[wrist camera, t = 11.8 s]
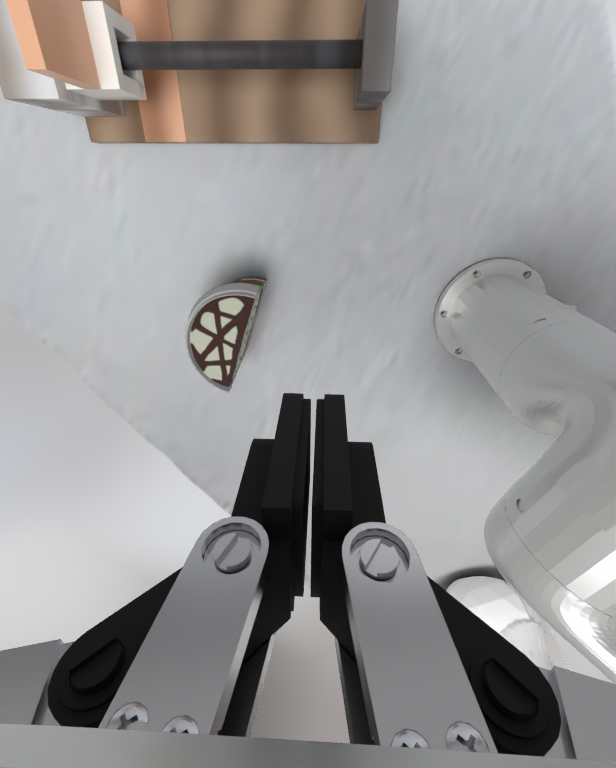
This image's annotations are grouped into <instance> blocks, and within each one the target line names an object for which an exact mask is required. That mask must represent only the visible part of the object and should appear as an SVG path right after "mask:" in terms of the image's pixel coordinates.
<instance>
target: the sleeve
mask: <svg viewBox="0 0 616 768" xmlns="http://www.w3.org/2000/svg"><path fill="white" fill-rule="evenodd" d="M6 2H7V6H8V9H9V13H10V16H11V19H12V23H13V26H14V29H15V33H16V36H17V39H18V43H19V46H20V49H21V53H22V56H23V59H24V63H25V66H26V69H27V70H30V71H33V72H36V73H39V74H42V75H44V76H47V77H50V78H53V79H56V80H59V81H62V82H65V86H66V89H67V90H70V91H73V92H76V93H79V94H83V95H86V96H89V97H92V98H95V99H98V100H147V97H146V92H145V86H144V80H143V75H142V70H122V66H121V61H120V56H119V51H118V46H117V42H121V41H137V40H136V35H135V29H134V25H133V24H132V23H131V22H129V21H128V20H127V19H125V18H124V17H123V16H121V15H120V14H119V13H117V12H116V11H115V10H113V9H112V8H111V7H109V6H108V5H107V4H105V3H104V2H103V1H80V0H6Z"/></svg>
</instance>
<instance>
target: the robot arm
mask: <svg viewBox="0 0 616 768" xmlns="http://www.w3.org/2000/svg"><path fill="white" fill-rule="evenodd" d="M475 270H476V273H475V274H473V272H474V271H475ZM524 272H525V274H524ZM523 274H524V275H523ZM442 311H444V312H443V313H442V314H440V313H441V312H442ZM434 325H435V330H436V334H437V336H438V338H439V340H440V342H441V343H442V345H443V346H444V347H445V348H446V350H447V351H448V352H449V353H451V354H452V355H454V356H455V357H457V358H460V359H462V360H465V361H470V362H473V363H474V365H475V366H476V367H477V369H478V370H479V371H480V373H481V374H482V375H483V377H484V378H485V379H486V380H487V382H488V383H489V384H490V386H491V387H492V388H493V390H494V391H495V392H496V394H497V395H498V396H499V397H500V399H501V400H502V401H503V403H504V404H505V405H506V406H507V408H508V409H509V410H510V412H511V413H512V414H513V415H514V416H515V417H516V418H517V419H518V420H519V421H520V422H522V423H523V424H524V425H526V426H527V427H529V428H531V429H533V430H536V431H538V432H540V433H543V434H546V435H550V436H554V437H558V439H557V440H556V441H555V442H554V443H553V444H552V445H551V446H550V447H549V448H548V449H547V450H546V451H545V453H544V455H543V456H542V457H541V458H540V459H539V460H538V461H537V462H536V463H535V464H534V465H533V466H532V467H531V468H530V469H529V470H528V471H527V472H526V473H525V474H524V475H523V476H522V477H521V478H520V479H519V480H518V481H517V482H516V483H515V484H514V485H513V486H512V487H511V488H510V489H509V490H508V492H507V493H506V494H505V495H504V496H503V497H502V498H501V499H500V500H499V501H498V502H497V504H496V505H495V506H494V507H493V508H492V510H491V511H490V513H489V515H488V517H487V519H486V522H485V527H484V539H485V543H486V547H487V550H488V553H489V555H490V557H491V559H492V561H493V563H494V564H495V566H496V568H497V569H498V571H499V572H500V574H501V575H502V576H503V578H504V579H505V580H506V581H507V583H508V584H509V585H510V586H511V587H512V589H513V590H514V591H515V592H516V593H517V594H518V595H519V596H520V597H521V598H522V600H523V601H524V602H525V603H526V604H527V605H528V606H529V607H530V608H532V609H533V610H534V611H535V612H536V613H537V614H538V615H539V616H540V617H541V618H542V619H543V620H544V621H545V622H546V623H547V624H549V625H550V626H551V627H552V628H553V629H554V630H555V631H556V632H557V633H558V634H559V635H561V636H562V637H563V638H564V639H565V640H566V641H567V642H568V643H569V644H571V645H572V646H573V647H574V648H575V649H576V650H577V651H578V652H579V653H581V654H582V655H583V656H584V657H585V658H586V659H587V660H588V661H589V662H591V663H592V664H593V665H594V666H595V667H596V668H597V669H598V670H599V671H601V672H602V673H603V674H604V675H605V676H606V677H607V678H608V679H609V680H611V681H612V682H613V683H614V684H613V683H610V682H607V681H603V680H600V679H597V678H593V677H590V676H587V675H583V674H580V673H577V672H573V671H570V670H567V669H563V668H560V667H556V666H553V668H552V669H551V670H548V669H544V668H541V667H538V666H536V665H535V664H534V663H533V662H532V661H531V660H530V659H529V658H528V657H527V656H526V655H525V654H524V653H522V652H521V651H520V650H519V649H517V648H516V647H515V646H514V645H512V644H511V643H510V642H509V641H507V640H506V639H505V638H504V637H502V636H501V635H500V634H499V633H497V632H496V631H495V630H494V629H492V628H491V627H490V626H489V625H488V624H486V623H485V622H484V621H483V620H481V619H480V618H479V617H478V616H476V615H475V614H474V613H473V612H471V611H470V610H469V609H468V608H466V607H465V606H464V605H463V604H461V603H460V602H459V601H458V600H456V599H455V598H454V597H453V596H452V595H450V594H449V593H448V592H447V591H445V590H444V589H443V588H442V587H440V586H439V585H438V584H437V583H435V582H434V581H433V580H432V579H430V578H429V577H428V576H427V575H426V573H425V570H424V568H423V565H422V563H421V560H420V558H419V555H418V553H417V550H416V548H415V547H414V545H413V543H412V542H411V540H410V539H409V538H408V537H407V536H406V535H405V534H404V533H403V532H402V531H400V530H398V529H397V528H395V527H393V526H391V525H388V524H386V521H385V515H384V510H383V504H382V498H381V492H380V486H379V480H378V474H377V468H376V462H375V456H374V450H373V445H372V443H371V442H348V439H347V426H346V413H345V400H344V395H331V394H325V398H324V399H317V407H316V429H315V451H314V474H313V496H312V538H311V597H320V620H321V621H322V623H323V624H324V625H325V626H326V627H327V628H328V629H329V631H330V632H331V633H332V634H333V635H334V636H335V646H336V653H337V660H338V666H339V673H340V680H341V686H342V693H343V699H344V706H345V713H346V720H347V726H348V733H349V739H350V744H347V743H346V744H345V743H332V742H316V741H300V740H285V739H269V738H251V734H252V729H253V726H254V722H255V718H256V714H257V710H258V705H259V701H260V697H261V693H262V689H263V685H264V681H265V677H266V673H267V669H268V665H269V661H270V657H271V653H272V649H273V645H274V641H275V632H276V631H277V630H278V629H279V628H281V627H282V626H283V625H284V624H285V623H286V622H287V621H288V620H289V619H290V617H291V611H293V610H294V597H295V596H303V593H304V576H305V558H306V540H307V522H308V504H309V486H310V429H311V399H304V397H303V394H295V393H284V394H283V399H282V404H281V409H280V414H279V419H278V424H277V430H276V435H275V439H253V441H252V444H251V447H250V451H249V455H248V458H247V462H246V465H245V469H244V473H243V476H242V480H241V483H240V487H239V491H238V494H237V498H236V501H235V505H234V509H233V512H232V516H231V517H229V518H224V519H221V520H219V521H218V522H215V523H213V524H212V525H210V526H209V527H208V528H207V529H206V530H204V531H203V533H202V534H201V535H200V537H199V538H198V540H197V541H196V543H195V545H194V547H193V549H192V551H191V552H190V554H189V556H188V558H187V560H186V562H185V564H184V566H183V567H182V568H181V569H179V570H178V571H176V572H175V573H173V574H172V575H170V576H169V577H167V578H166V579H164V580H163V581H161V582H160V583H158V584H157V585H155V586H154V587H152V588H151V589H150V590H148V591H146V592H145V593H143V594H142V595H141V596H139V597H138V598H136V599H134V600H133V601H132V602H130V603H129V604H127V605H126V606H124V607H123V608H121V609H120V610H118V611H117V612H115V613H114V614H112V615H111V616H109V617H108V618H106V619H105V620H103V621H102V622H100V623H99V624H97V625H96V626H95V627H93V628H91V629H90V630H88V631H87V632H86V633H85V634H83V635H82V636H81V637H80V638H78V639H77V640H76V641H75V642H71V643H65V644H64V643H63V642H62V640H61V639H59V640H53V641H49V642H44V643H38V644H33V645H28V646H23V647H18V648H13V649H8V650H3V651H0V768H616V332H614V331H612V330H610V329H609V328H607V327H605V326H603V325H601V324H599V323H598V322H596V321H594V320H592V319H591V318H589V317H587V316H585V315H583V314H582V313H580V312H578V311H577V306H576V305H565V304H564V303H562V302H560V301H558V300H556V299H555V298H553V297H551V296H549V295H548V294H547V290H546V286H545V283H544V282H543V280H542V278H541V276H540V275H539V274H538V273H537V272H536V271H535V270H534V269H532V268H531V267H529V266H528V265H526V264H524V263H522V262H519V261H516V260H512V259H491V260H485V261H483V262H480V263H477V264H474V265H473V266H471V267H469V268H467V269H465V270H464V271H462V272H461V273H460V274H459V275H457V276H456V277H455V278H454V279H453V280H452V281H451V282H450V283H449V284H448V285H447V287H446V288H445V290H444V291H443V293H442V294H441V296H440V299H439V301H438V303H437V306H436V310H435V317H434ZM457 348H458V349H457ZM456 349H457V350H456Z"/></svg>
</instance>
